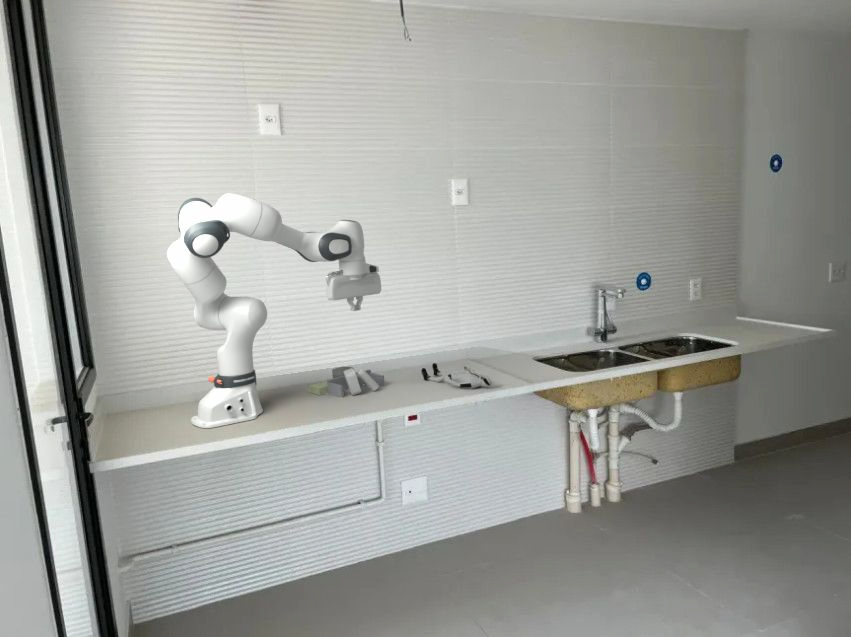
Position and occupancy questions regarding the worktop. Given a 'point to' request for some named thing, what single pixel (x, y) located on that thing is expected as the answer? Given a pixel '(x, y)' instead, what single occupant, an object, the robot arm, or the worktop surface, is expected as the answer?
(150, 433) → the worktop surface
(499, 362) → the worktop surface
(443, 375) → the figurine
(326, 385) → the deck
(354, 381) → the wall hook
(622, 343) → the worktop surface
